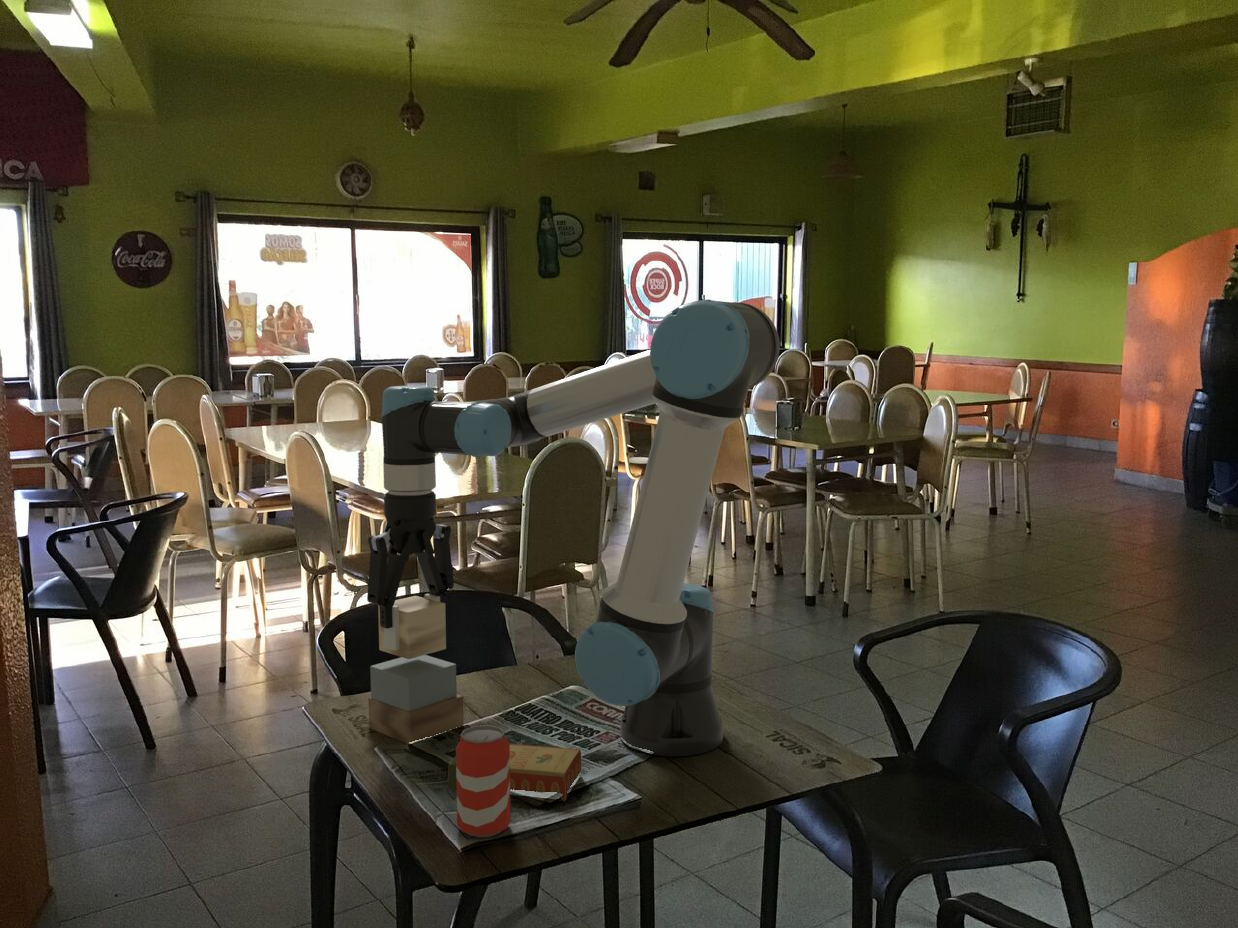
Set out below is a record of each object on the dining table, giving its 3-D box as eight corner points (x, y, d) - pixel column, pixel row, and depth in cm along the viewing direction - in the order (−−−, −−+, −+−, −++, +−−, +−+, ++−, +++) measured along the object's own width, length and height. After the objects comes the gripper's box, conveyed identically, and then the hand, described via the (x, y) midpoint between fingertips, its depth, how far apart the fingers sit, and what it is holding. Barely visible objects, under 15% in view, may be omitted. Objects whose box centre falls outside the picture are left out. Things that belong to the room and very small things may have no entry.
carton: (565, 804, 139) (565, 772, 139) (447, 792, 143) (446, 761, 142) (581, 777, 147) (581, 747, 147) (469, 766, 151) (468, 737, 150)
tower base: (463, 727, 166) (463, 695, 165) (411, 746, 158) (410, 713, 157) (421, 712, 172) (421, 681, 171) (369, 729, 165) (368, 697, 164)
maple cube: (446, 648, 164) (445, 603, 163) (408, 659, 159) (407, 612, 158) (416, 639, 169) (415, 595, 168) (379, 649, 163) (378, 604, 162)
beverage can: (452, 839, 129) (450, 741, 127) (466, 815, 135) (464, 722, 134) (502, 842, 128) (501, 744, 127) (514, 818, 134) (513, 724, 133)
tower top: (456, 696, 165) (456, 664, 164) (409, 711, 158) (408, 678, 157) (418, 683, 171) (417, 652, 170) (371, 698, 164) (370, 666, 163)
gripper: (445, 481, 170) (447, 624, 173) (337, 496, 155) (341, 652, 158) (477, 486, 166) (479, 633, 169) (369, 501, 151) (373, 662, 154)
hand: (412, 642), depth 163 cm, fingers closed on maple cube, 7 cm apart
